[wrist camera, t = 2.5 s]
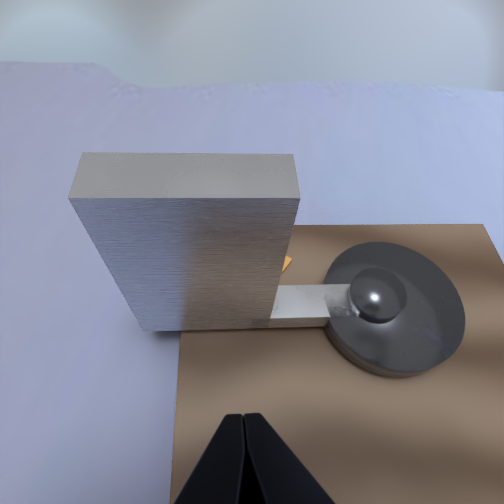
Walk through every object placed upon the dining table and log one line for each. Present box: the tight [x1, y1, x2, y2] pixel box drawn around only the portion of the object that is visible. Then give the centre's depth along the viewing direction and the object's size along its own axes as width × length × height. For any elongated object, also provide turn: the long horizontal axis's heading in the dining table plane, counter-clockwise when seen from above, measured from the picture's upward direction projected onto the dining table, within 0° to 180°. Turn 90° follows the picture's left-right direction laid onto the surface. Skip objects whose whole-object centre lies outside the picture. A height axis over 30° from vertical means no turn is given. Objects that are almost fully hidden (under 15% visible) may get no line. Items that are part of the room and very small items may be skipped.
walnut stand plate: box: [170, 224, 504, 504], centre depth 21 cm, size 18×22×2 cm
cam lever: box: [68, 152, 465, 378], centre depth 16 cm, size 18×8×11 cm, turn 93°
